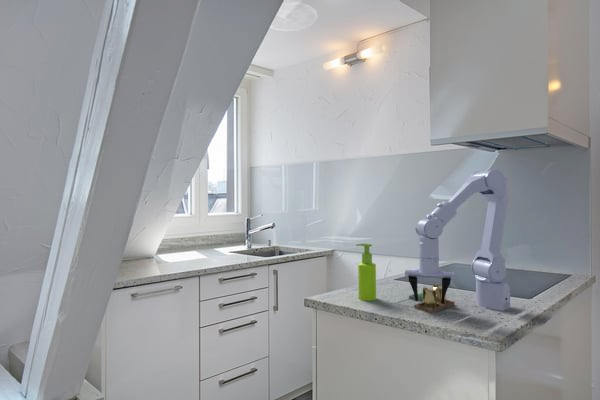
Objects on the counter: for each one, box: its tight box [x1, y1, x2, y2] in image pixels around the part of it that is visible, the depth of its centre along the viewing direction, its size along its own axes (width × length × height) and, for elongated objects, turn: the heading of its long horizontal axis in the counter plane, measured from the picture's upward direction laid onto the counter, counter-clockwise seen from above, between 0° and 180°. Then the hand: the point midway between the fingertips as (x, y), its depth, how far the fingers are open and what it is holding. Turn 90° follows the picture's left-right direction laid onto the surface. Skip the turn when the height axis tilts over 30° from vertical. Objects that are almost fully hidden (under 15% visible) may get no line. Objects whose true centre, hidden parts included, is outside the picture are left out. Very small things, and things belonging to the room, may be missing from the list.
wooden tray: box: [413, 299, 455, 314], centre depth 124 cm, size 8×13×2 cm, turn 131°
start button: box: [418, 291, 423, 298], centre depth 134 cm, size 3×3×3 cm
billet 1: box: [422, 287, 436, 308], centre depth 122 cm, size 4×4×7 cm
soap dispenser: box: [355, 243, 377, 302], centre depth 135 cm, size 6×7×20 cm
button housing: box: [408, 293, 423, 303], centre depth 134 cm, size 5×5×2 cm
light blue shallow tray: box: [393, 298, 421, 308], centre depth 128 cm, size 7×8×1 cm
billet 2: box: [432, 283, 447, 304], centre depth 126 cm, size 4×4×7 cm
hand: (429, 301), depth 122 cm, fingers open, 7 cm apart
